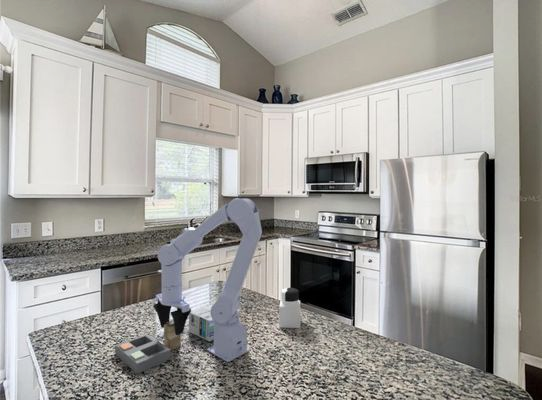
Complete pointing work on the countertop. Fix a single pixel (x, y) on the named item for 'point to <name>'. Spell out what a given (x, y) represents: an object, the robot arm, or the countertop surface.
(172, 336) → the plug
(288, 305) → the medicine bottle
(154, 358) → the port board
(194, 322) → the light bulb box
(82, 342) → the countertop surface
